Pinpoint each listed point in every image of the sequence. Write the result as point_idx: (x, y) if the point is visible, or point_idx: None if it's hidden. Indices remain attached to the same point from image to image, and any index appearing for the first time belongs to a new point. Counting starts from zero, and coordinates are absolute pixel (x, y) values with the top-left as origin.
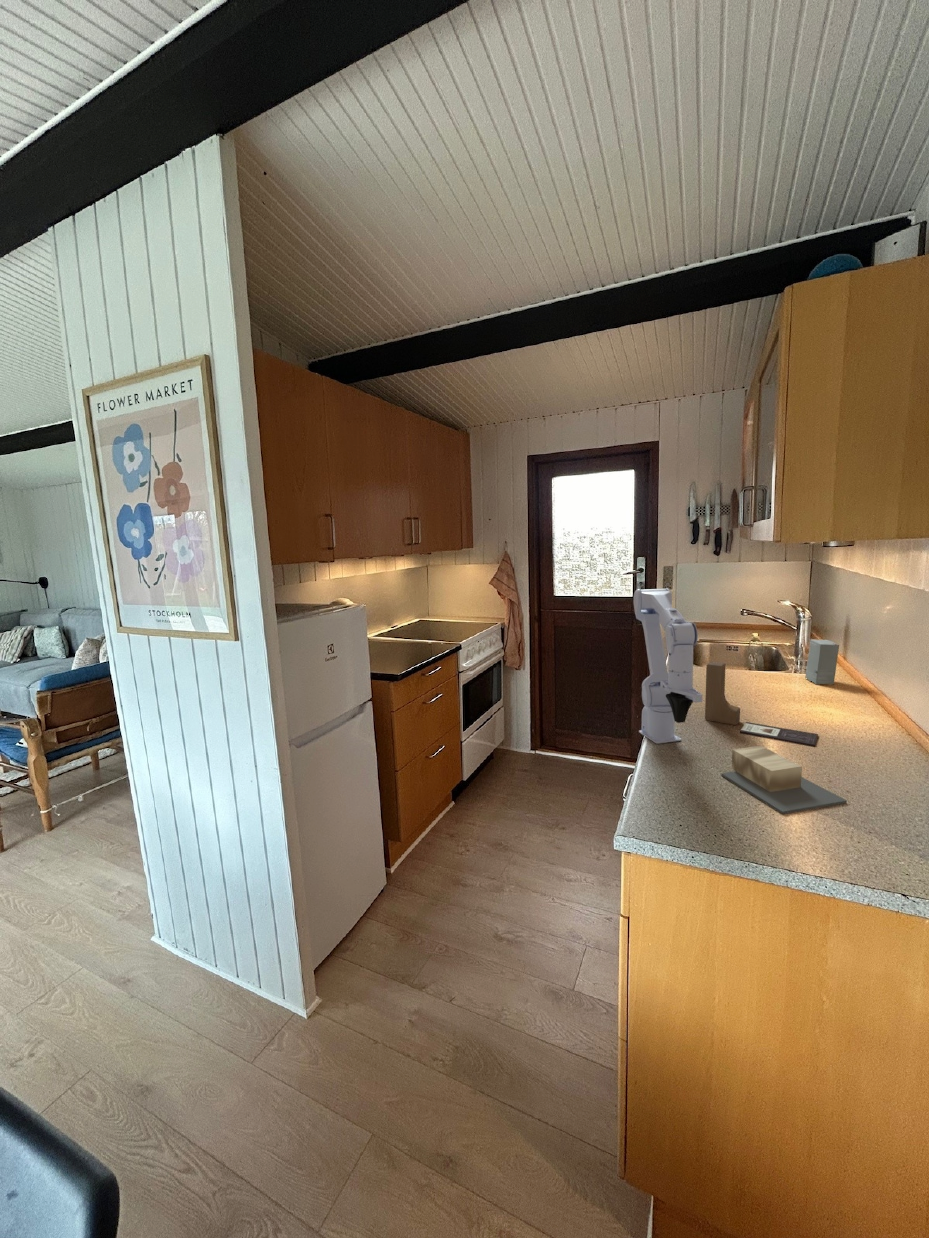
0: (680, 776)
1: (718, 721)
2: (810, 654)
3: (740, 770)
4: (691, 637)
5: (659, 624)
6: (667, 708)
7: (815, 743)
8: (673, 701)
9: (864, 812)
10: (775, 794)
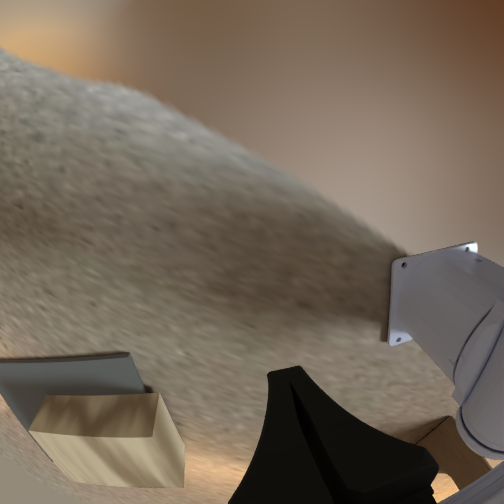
0: (124, 233)
1: (428, 435)
2: None
3: (125, 401)
4: None
5: None
6: (469, 369)
7: None
8: (299, 479)
9: (33, 454)
10: (39, 396)
